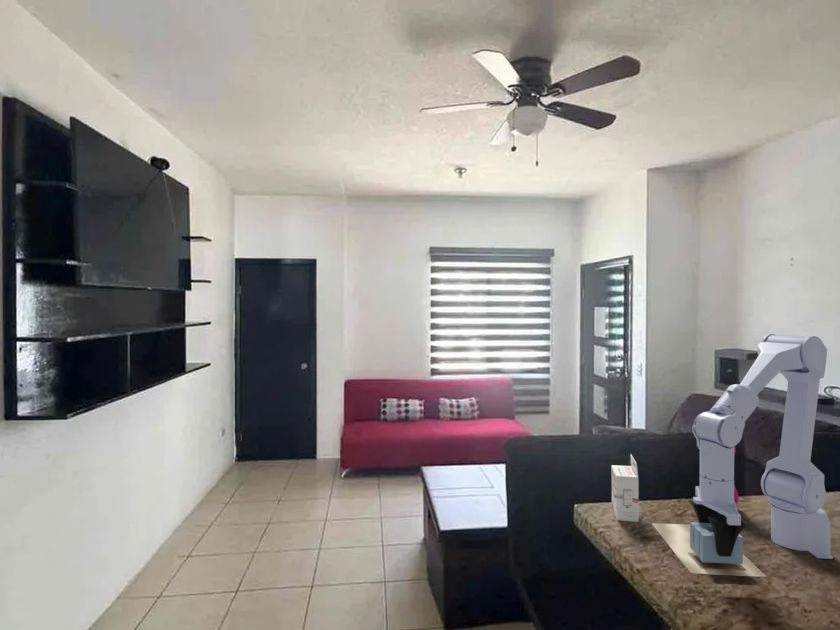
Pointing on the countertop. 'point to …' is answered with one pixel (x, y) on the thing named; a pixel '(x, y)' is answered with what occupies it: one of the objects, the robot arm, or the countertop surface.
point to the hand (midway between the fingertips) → (716, 547)
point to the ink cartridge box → (625, 491)
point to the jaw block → (712, 545)
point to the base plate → (680, 544)
